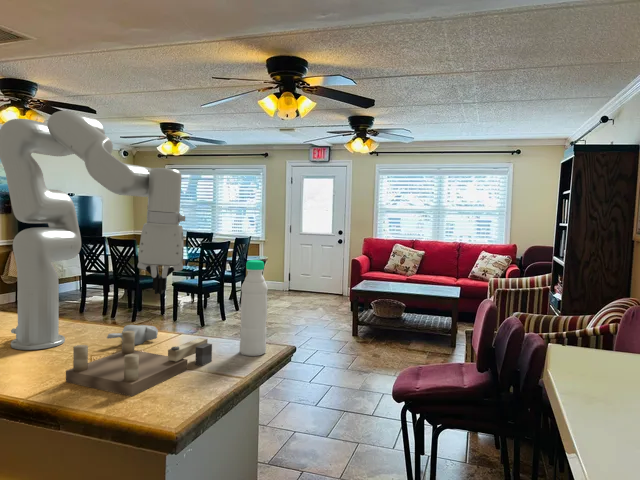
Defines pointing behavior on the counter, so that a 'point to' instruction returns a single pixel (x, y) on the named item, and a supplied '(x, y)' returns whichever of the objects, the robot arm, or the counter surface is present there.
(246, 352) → the water bottle
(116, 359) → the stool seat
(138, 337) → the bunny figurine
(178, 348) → the hinged leg
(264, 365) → the counter surface
